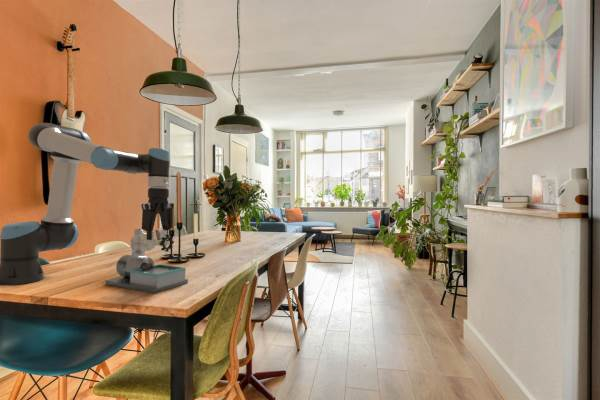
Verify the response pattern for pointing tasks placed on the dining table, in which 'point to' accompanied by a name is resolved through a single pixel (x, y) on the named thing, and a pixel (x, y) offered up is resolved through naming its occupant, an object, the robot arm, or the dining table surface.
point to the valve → (158, 243)
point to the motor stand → (146, 275)
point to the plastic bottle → (137, 243)
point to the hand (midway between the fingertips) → (157, 247)
